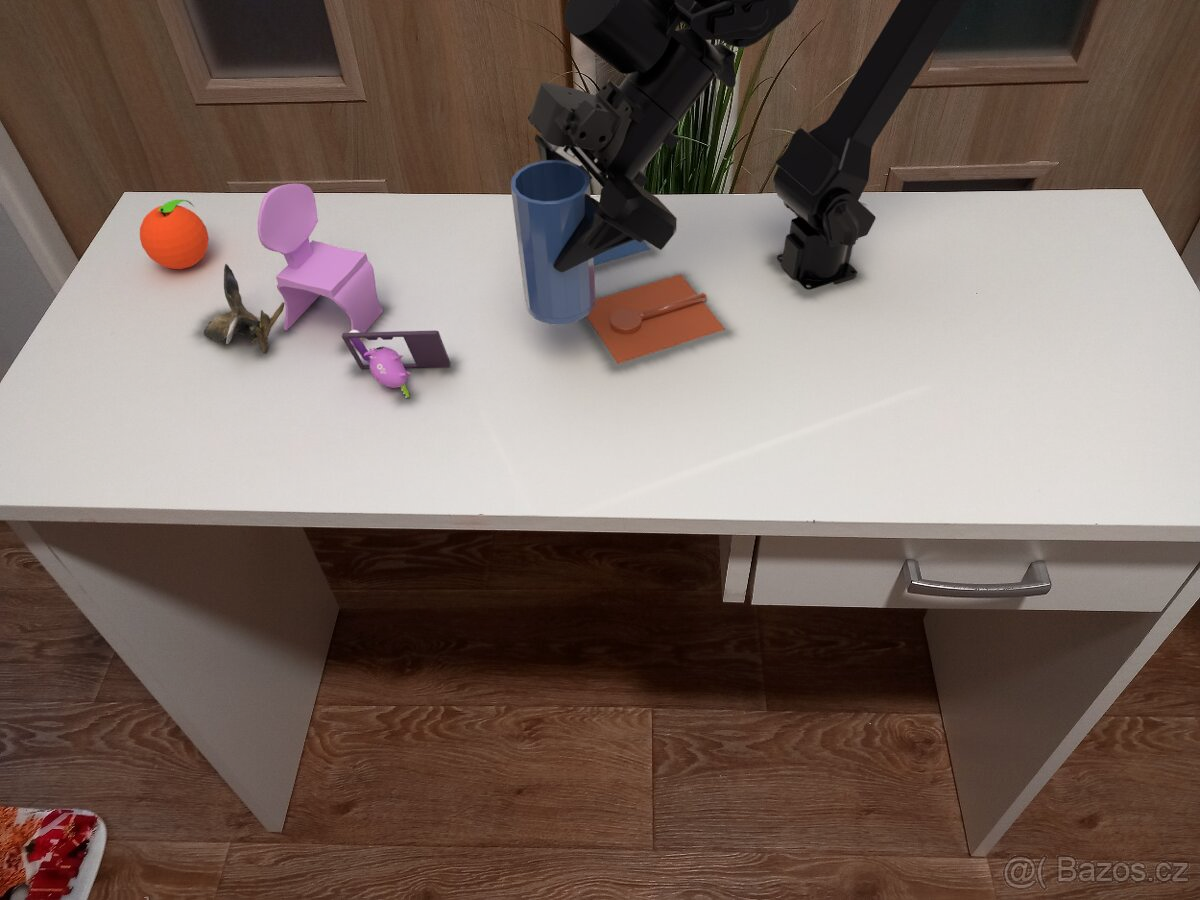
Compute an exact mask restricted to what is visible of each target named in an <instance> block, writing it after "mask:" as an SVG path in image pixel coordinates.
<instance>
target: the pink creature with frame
mask: <svg viewBox="0 0 1200 900" xmlns="http://www.w3.org/2000/svg"><path fill="white" fill-rule="evenodd" d="M341 338H342V340H343V342H344V343H345V345H346V347H347V349H348V350H349V352H350V353H351V355H352V357H353V359H354V360H355V362H356V364H357V366H358V367H359V369H361V370H370V373H371V375H372V377H374V379H375V380H376V381H377V382H378V383H379V384H381V385H383V386H384V387H387V388H391V389H393V388H394V389H395V388H396V389H397V388H400V389H401V390H400V391H403V393H402V395H404V398H406V399H407V398H411V397H410V392H409V390H408V387H407V386H406V383H407V382H408V376H409V375H411V372H410V371H408V370H407V369H428V368H429V369H431V368H435V369H436V368H450V367H451V361H450V358H449V355H448V353H447V349H446V348H445V344H444V342H443V338H442V336H441V334H440V332H439V330H401V331H400V330H398V331H366V332H359V331H358V330H351V329H350V330H349V332H343V333H342V335H341ZM379 338H380V339H382V340H384V341H388V340H389V341H391V340H393V339H394V338H403V339H404V342H405V344H406V346H407V348H408V351H409V353H410V355H411V357H412V359H413V361H414V363H403V362H402V360H401V359H402V358H403V357H404V355H402V354H399V353H398V352H397V351H396V350H395V349H393V348H391V347H387V346H379V347H376V348H375V347H373V348H369V349H367V347H366V345H365V344H364V342H363V340H364V339H365V340H368V341H378V339H379ZM350 340H351V341H352V342H353V344H354V346H352V344H351V342H350ZM357 352H358V353H357ZM359 355H360V356H361V358H360V356H359ZM361 359H363V360H364V361H365V362H367V363H369V364H364V363H363V361H362V360H361Z"/></svg>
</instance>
